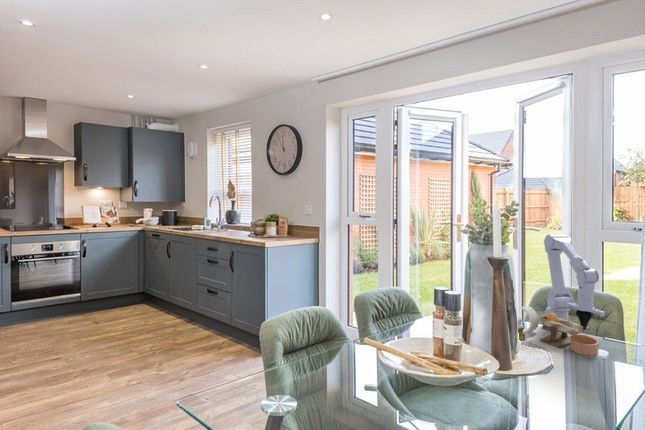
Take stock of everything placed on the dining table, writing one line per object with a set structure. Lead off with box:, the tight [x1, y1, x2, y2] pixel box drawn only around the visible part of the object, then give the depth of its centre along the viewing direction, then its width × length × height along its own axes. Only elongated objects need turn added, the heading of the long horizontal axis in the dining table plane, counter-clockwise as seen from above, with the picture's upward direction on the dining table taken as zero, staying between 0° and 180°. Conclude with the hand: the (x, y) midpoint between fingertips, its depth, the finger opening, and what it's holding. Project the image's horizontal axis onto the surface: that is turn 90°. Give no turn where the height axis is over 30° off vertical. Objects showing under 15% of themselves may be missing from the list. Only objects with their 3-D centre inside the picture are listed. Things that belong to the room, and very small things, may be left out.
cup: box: [569, 334, 600, 356], centre depth 184 cm, size 10×10×4 cm
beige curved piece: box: [539, 314, 591, 336], centre depth 193 cm, size 16×12×6 cm
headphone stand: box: [520, 305, 540, 337], centre depth 200 cm, size 5×6×12 cm
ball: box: [546, 313, 556, 322], centre depth 195 cm, size 4×4×4 cm
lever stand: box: [540, 326, 570, 349], centre depth 192 cm, size 9×13×8 cm
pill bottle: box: [517, 316, 524, 342], centre depth 191 cm, size 6×6×11 cm
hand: (583, 327), depth 189 cm, fingers closed, pressing on beige curved piece
